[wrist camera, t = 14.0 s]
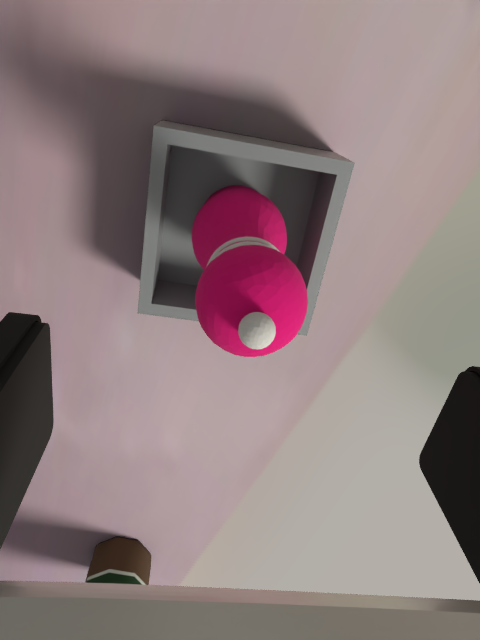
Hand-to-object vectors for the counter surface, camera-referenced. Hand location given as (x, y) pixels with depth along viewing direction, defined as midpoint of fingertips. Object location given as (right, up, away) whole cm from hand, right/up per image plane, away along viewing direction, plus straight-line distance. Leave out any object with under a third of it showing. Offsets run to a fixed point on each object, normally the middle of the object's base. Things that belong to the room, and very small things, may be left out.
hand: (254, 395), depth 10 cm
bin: (-1, +10, +29) cm, 31 cm away
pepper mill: (-1, +10, +28) cm, 30 cm away
